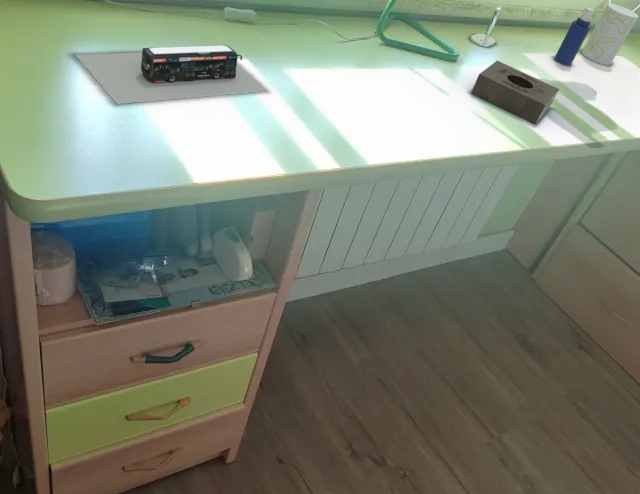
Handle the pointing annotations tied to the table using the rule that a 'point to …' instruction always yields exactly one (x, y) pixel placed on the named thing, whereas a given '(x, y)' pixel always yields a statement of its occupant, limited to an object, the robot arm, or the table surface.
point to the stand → (487, 32)
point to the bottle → (574, 38)
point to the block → (515, 91)
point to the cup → (609, 34)
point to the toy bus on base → (170, 73)
